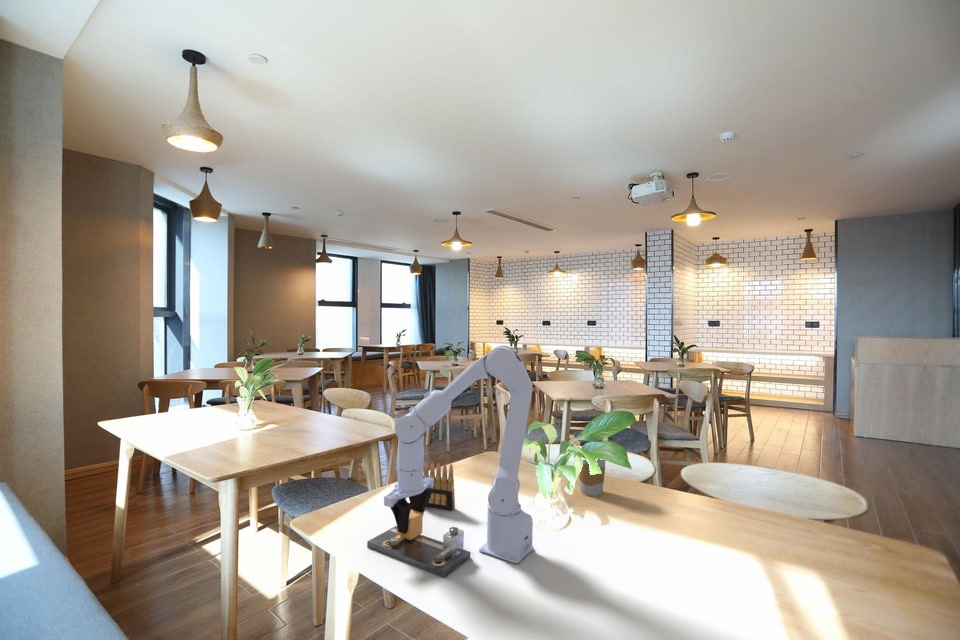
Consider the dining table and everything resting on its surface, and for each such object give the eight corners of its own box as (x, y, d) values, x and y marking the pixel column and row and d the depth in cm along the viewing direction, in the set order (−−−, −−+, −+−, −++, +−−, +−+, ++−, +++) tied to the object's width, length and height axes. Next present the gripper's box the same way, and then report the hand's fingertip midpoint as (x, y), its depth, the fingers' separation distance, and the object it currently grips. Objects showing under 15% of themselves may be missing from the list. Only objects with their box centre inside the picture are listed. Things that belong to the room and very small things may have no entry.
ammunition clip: (454, 508, 121) (455, 463, 121) (452, 511, 119) (453, 465, 119) (417, 503, 124) (418, 458, 124) (414, 505, 122) (415, 460, 122)
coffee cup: (609, 491, 135) (610, 440, 135) (601, 500, 128) (602, 446, 128) (582, 485, 139) (583, 435, 139) (572, 493, 132) (573, 442, 132)
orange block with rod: (422, 532, 103) (422, 512, 103) (397, 547, 96) (398, 526, 96) (408, 528, 105) (409, 508, 105) (383, 542, 98) (384, 521, 98)
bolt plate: (470, 557, 96) (470, 529, 96) (444, 577, 88) (445, 546, 88) (395, 531, 107) (396, 505, 107) (367, 546, 100) (367, 519, 100)
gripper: (417, 456, 111) (416, 512, 111) (374, 472, 98) (372, 535, 98) (441, 461, 107) (440, 519, 107) (398, 479, 95) (397, 545, 95)
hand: (409, 528), depth 102 cm, fingers closed on orange block with rod, 4 cm apart
